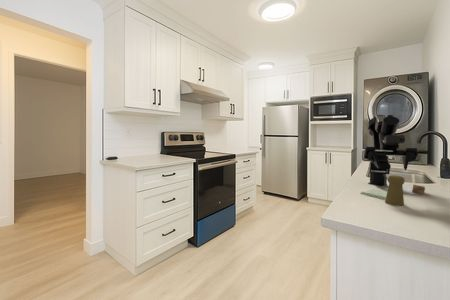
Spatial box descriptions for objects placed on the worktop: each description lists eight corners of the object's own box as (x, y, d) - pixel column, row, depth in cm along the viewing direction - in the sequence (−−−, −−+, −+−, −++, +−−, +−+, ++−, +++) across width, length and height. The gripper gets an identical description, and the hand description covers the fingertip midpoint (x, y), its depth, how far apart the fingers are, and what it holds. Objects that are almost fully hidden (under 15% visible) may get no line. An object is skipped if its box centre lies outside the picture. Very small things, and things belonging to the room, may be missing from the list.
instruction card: (383, 189, 110) (383, 188, 110) (389, 186, 116) (389, 185, 116) (415, 194, 101) (415, 193, 101) (419, 191, 107) (419, 190, 107)
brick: (412, 192, 103) (413, 186, 103) (412, 190, 106) (413, 184, 106) (423, 194, 101) (424, 188, 100) (423, 192, 104) (424, 186, 104)
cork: (408, 206, 85) (410, 177, 84) (392, 205, 85) (394, 177, 85) (396, 201, 91) (398, 174, 90) (381, 201, 91) (383, 174, 91)
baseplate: (360, 193, 102) (360, 191, 102) (373, 190, 108) (373, 188, 107) (386, 200, 93) (386, 197, 93) (399, 196, 98) (399, 193, 98)
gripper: (366, 128, 101) (368, 155, 92) (418, 128, 93) (427, 157, 84) (362, 145, 109) (364, 171, 99) (411, 146, 101) (418, 175, 92)
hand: (392, 168), depth 93 cm, fingers open, 9 cm apart
